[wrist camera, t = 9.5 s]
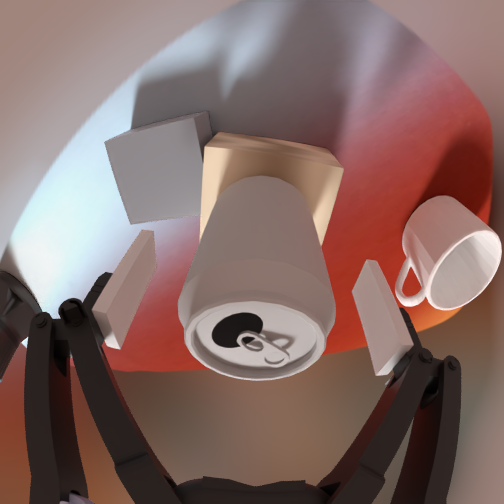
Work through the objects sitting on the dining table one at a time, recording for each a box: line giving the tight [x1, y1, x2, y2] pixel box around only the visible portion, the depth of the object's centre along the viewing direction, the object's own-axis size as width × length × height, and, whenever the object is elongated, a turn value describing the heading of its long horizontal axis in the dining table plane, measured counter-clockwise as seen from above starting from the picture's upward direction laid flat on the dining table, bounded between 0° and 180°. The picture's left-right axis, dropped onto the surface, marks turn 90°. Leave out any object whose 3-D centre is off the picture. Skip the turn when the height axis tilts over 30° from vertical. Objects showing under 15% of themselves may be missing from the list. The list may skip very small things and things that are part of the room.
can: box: [178, 175, 336, 381], centre depth 16 cm, size 8×8×12 cm
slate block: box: [104, 111, 213, 224], centre depth 22 cm, size 8×8×5 cm
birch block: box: [200, 132, 344, 245], centre depth 23 cm, size 10×10×6 cm
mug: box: [395, 195, 502, 310], centre depth 24 cm, size 13×10×8 cm
